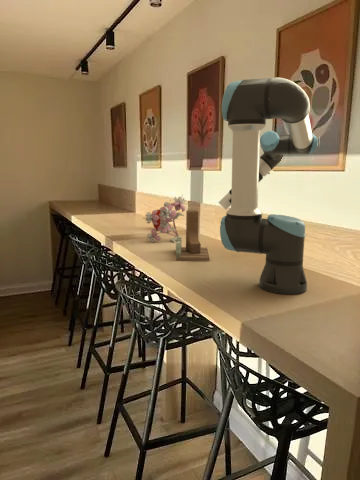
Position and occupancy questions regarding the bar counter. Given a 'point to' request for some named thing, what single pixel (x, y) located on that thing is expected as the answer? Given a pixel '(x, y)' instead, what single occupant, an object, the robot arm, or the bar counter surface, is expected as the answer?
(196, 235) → the wooden block
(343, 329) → the bar counter surface
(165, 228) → the flower
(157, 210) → the red rounded piece
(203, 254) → the walnut edge board
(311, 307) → the bar counter surface
